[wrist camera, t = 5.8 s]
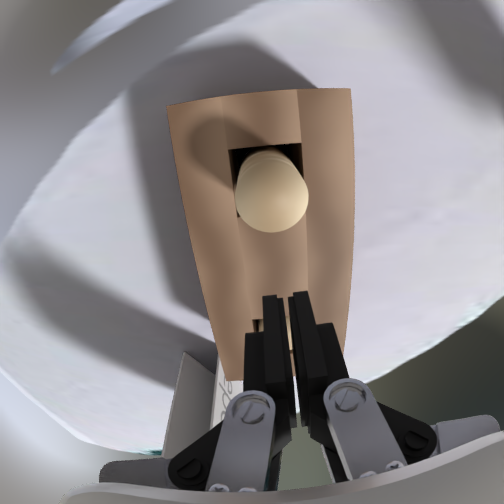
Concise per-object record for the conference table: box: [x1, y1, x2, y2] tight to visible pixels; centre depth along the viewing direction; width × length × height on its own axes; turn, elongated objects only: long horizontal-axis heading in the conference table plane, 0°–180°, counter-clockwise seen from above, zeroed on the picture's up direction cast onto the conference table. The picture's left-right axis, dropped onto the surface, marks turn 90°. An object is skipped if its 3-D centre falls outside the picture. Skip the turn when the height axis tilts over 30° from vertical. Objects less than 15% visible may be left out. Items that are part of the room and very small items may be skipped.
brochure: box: [161, 352, 243, 459], centre depth 28 cm, size 14×6×30 cm, turn 17°
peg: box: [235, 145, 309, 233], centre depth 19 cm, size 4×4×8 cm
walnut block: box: [166, 88, 355, 381], centre depth 26 cm, size 12×26×8 cm, turn 6°
